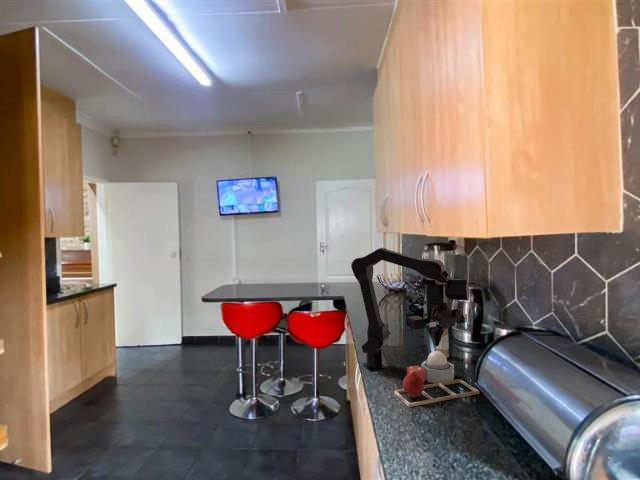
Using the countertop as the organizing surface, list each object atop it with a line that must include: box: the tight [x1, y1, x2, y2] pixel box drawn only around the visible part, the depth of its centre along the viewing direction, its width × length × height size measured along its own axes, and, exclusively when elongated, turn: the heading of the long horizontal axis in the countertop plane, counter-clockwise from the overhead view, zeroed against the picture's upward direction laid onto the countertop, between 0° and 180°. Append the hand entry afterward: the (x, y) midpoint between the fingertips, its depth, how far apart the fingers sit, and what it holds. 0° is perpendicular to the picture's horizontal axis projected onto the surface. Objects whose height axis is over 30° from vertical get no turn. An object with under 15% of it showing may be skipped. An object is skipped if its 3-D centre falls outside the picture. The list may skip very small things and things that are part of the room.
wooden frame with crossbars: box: [393, 378, 480, 408], centre depth 108 cm, size 9×23×1 cm, turn 105°
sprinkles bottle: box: [436, 328, 450, 359], centre depth 138 cm, size 5×5×13 cm
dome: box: [425, 350, 450, 370], centre depth 119 cm, size 7×7×6 cm
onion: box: [402, 370, 425, 399], centre depth 106 cm, size 6×6×8 cm
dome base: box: [406, 360, 455, 384], centre depth 119 cm, size 10×15×4 cm, turn 105°
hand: (436, 346), depth 119 cm, fingers closed
